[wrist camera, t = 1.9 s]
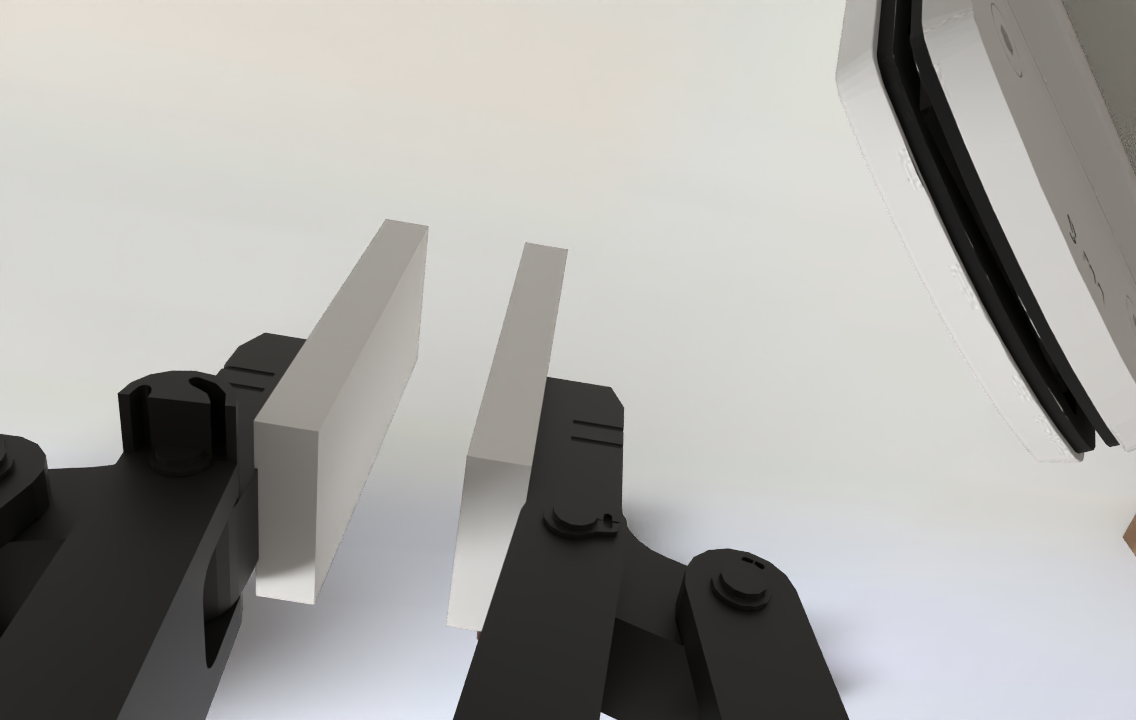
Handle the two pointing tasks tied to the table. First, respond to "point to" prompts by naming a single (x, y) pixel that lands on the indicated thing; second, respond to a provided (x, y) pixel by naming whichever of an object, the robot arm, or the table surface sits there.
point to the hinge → (1006, 203)
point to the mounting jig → (1131, 536)
